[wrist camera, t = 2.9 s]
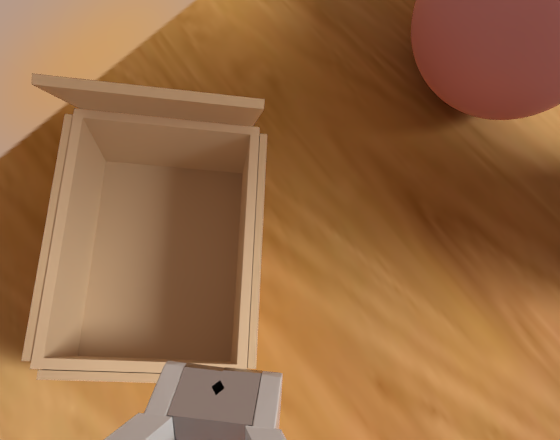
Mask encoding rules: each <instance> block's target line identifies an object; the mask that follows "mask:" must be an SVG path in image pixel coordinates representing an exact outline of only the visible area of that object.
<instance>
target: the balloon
mask: <svg viewBox="0 0 560 440" xmlns="http://www.w3.org/2000/svg"><path fill="white" fill-rule="evenodd" d="M411 43H412V50H413V54H414V58H415V61H416V64H417V67H418V69H419V71H420V73H421V75H422V77H423V79H424V80H425V82H426V83H427V85H428V86H429V87H430V89H431V90H432V91H433V92H434V93H435V94H436V95H437V96H438V97H439V98H440V99H441V100H443V101H444V102H445V103H447V104H448V105H450V106H451V107H453V108H455V109H457V110H459V111H461V112H463V113H466V114H468V115H471V116H475V117H479V118H484V119H493V120H509V119H518V118H523V117H528V116H532V115H535V114H538V113H541V112H544V111H546V110H549V109H551V108H553V107H555V106H557V105H559V104H560V0H416V2H415V5H414V10H413V15H412V22H411Z"/></svg>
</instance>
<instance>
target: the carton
mask: <svg viewBox="0 0 560 440" xmlns="http://www.w3.org/2000/svg"><path fill="white" fill-rule="evenodd" d="M259 133H260V127H253V126H243V125H233V124H223V123H213V122H204V121H194V120H184V119H174V118H164V117H155V116H145V115H135V114H125V113H116V112H106V111H96V110H86V109H76V108H74V113H73V115H72V114H65V115H64V121H63V127H62V132H61V138H60V144H59V149H58V155H57V161H56V166H55V172H54V178H53V184H52V189H51V195H50V201H49V206H48V212H47V218H46V223H45V229H44V235H43V240H42V246H41V252H40V257H39V263H38V269H37V275H36V280H35V286H34V292H33V297H32V303H31V309H30V314H29V320H28V326H27V331H26V337H25V343H24V348H23V354H22V360H21V361H31V365H30V369H42V370H38V373H37V380H72V381H107V382H143V383H157V381H158V379H159V376H160V374H161V371H162V369H163V367H164V365H165V364H166V362H167V361H168V360H169V361H177V362H185V363H194V364H201V365H208V366H216V367H223V368H225V367H229V368H239V369H247V368H249V369H256V361H257V340H258V319H259V298H260V278H261V257H262V236H263V215H264V195H265V174H266V153H267V134H262V133H260V136H259Z"/></svg>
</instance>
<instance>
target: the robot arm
mask: <svg viewBox="0 0 560 440" xmlns="http://www.w3.org/2000/svg"><path fill="white" fill-rule="evenodd" d="M282 377H283V376H282V373H277V372H267V371H260V370H250V369H239V368H229V367H225V368H223V367H216V366H208V365H201V364H194V363H185V362H177V361H169V360H168V361H167V362H166V364H165V365H164V367H163V369H162V371H161V374H160V376H159V379H158V381H157V383H156V386H155V388H154V391H153V393H152V395H151V398H150V400H149V403H148V405H147V407H146V410H145V412H144V413H138V414H136V415H135V416H134V417H132V418H131V419H130V420H129V421H127V422H126V423H125V424H123V425H122V426H121V427H119V428H118V429H117V430H116V431H114V432H113V433H112V434H110V435H109V436H108V437H107V438H105V439H104V440H286V438H285V436H284V434H283V432H282V430H280V429H279V421H280V408H281V393H282Z"/></svg>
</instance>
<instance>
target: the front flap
mask: <svg viewBox="0 0 560 440" xmlns="http://www.w3.org/2000/svg"><path fill="white" fill-rule="evenodd" d="M32 85H34V86H36V87H38V88H40V89H42V90H44V91H46V92H48V93H50V94H52V95H54V96H56V97H58V98H60V99H62V100H64V101H66V102H68V103H70V104H71V105H73V106H75V107H77V108H79V109H87V110H97V111H107V112H117V113H127V114H136V115H146V116H156V117H166V118H176V119H185V120H195V121H205V122H215V123H224V124H234V125H244V126H254V124H255V122H256V121H257V119H258V118H259V116H260V115H261V113H262V112H263V110H264V104H265V99H259V98H250V97H241V96H231V95H222V94H213V93H204V92H195V91H186V90H177V89H168V88H159V87H150V86H141V85H132V84H123V83H114V82H105V81H95V80H86V79H77V78H67V77H59V76H49V75H41V74H32Z"/></svg>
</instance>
